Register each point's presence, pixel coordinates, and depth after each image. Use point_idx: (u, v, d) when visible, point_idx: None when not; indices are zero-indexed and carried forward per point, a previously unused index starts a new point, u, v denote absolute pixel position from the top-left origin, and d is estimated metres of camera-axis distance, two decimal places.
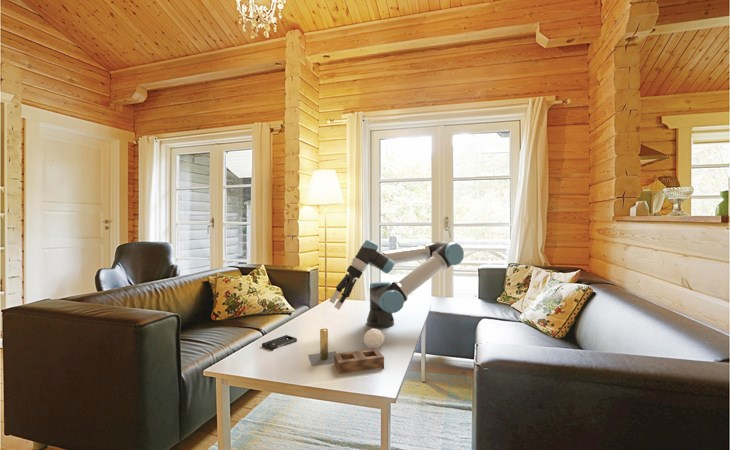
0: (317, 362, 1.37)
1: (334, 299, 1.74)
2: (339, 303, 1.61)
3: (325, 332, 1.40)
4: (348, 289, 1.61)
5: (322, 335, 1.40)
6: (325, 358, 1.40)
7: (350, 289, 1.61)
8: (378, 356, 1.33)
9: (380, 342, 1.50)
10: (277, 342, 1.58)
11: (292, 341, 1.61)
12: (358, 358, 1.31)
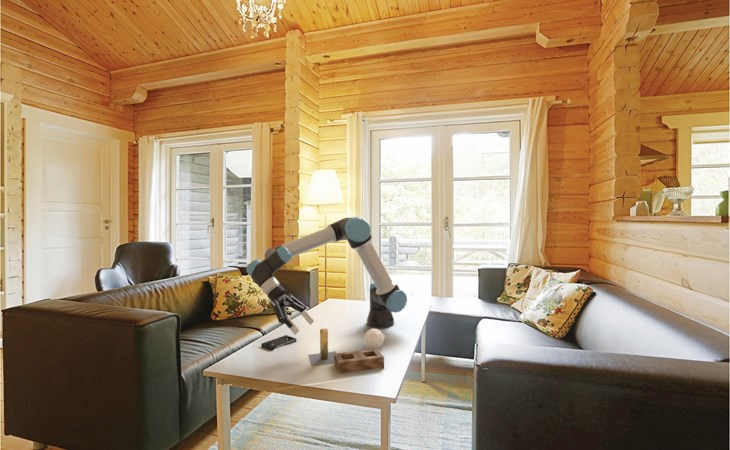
0: (317, 362, 1.37)
1: (309, 318, 1.49)
2: (292, 328, 1.37)
3: (325, 332, 1.40)
4: (277, 315, 1.37)
5: (322, 335, 1.40)
6: (325, 358, 1.40)
7: (278, 312, 1.37)
8: (378, 356, 1.33)
9: (380, 342, 1.50)
10: (276, 342, 1.58)
11: (292, 341, 1.60)
12: (358, 358, 1.31)
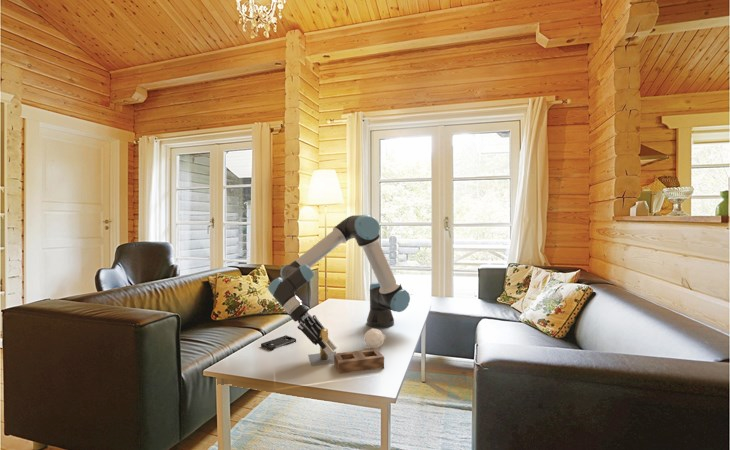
0: (317, 362, 1.37)
1: (331, 345, 1.42)
2: (326, 349, 1.38)
3: (325, 332, 1.40)
4: (309, 337, 1.37)
5: (322, 335, 1.40)
6: (325, 358, 1.40)
7: (310, 335, 1.37)
8: (378, 356, 1.33)
9: (380, 342, 1.50)
10: (276, 342, 1.57)
11: (291, 342, 1.60)
12: (358, 358, 1.31)
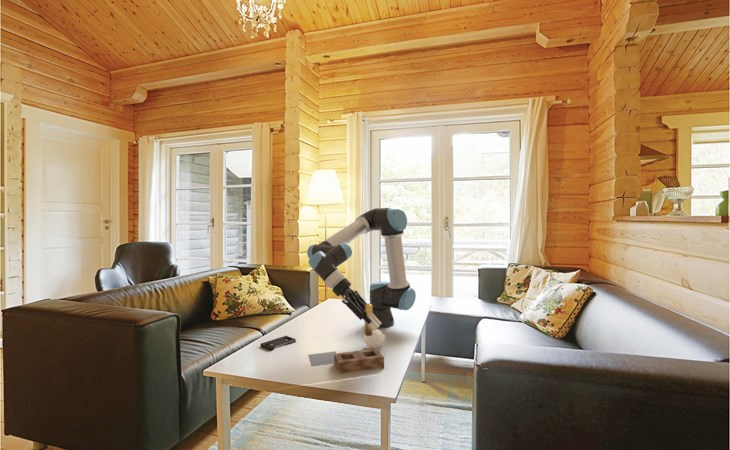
0: (317, 362, 1.37)
1: (376, 321, 1.36)
2: (371, 324, 1.32)
3: (370, 307, 1.34)
4: (355, 311, 1.31)
5: (367, 310, 1.33)
6: (370, 334, 1.34)
7: (355, 309, 1.31)
8: (378, 356, 1.33)
9: (380, 342, 1.50)
10: (275, 342, 1.57)
11: (291, 342, 1.60)
12: (358, 358, 1.31)
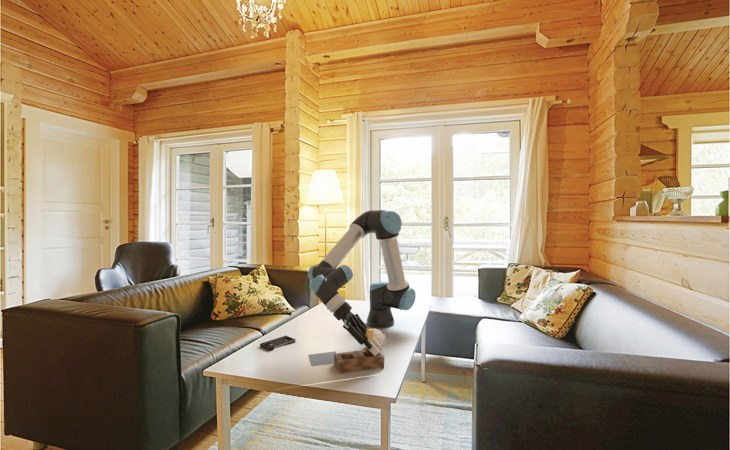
0: (317, 362, 1.37)
1: (377, 345, 1.36)
2: (372, 349, 1.32)
3: (371, 331, 1.34)
4: (355, 337, 1.31)
5: (368, 335, 1.34)
6: None
7: (356, 334, 1.31)
8: (378, 356, 1.33)
9: (380, 342, 1.50)
10: (275, 342, 1.57)
11: (290, 342, 1.59)
12: (358, 358, 1.31)
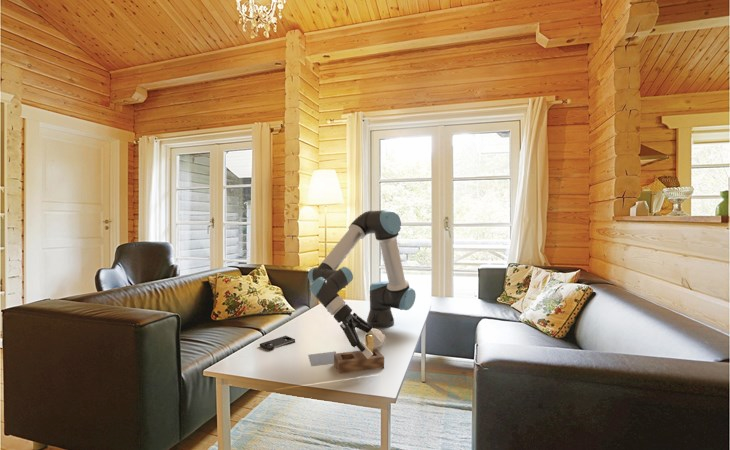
0: (317, 362, 1.37)
1: (376, 339, 1.41)
2: (365, 351, 1.28)
3: (371, 338, 1.34)
4: (349, 338, 1.28)
5: (368, 341, 1.33)
6: None
7: (350, 335, 1.28)
8: (378, 356, 1.33)
9: None
10: (274, 342, 1.57)
11: (290, 342, 1.59)
12: (358, 358, 1.31)
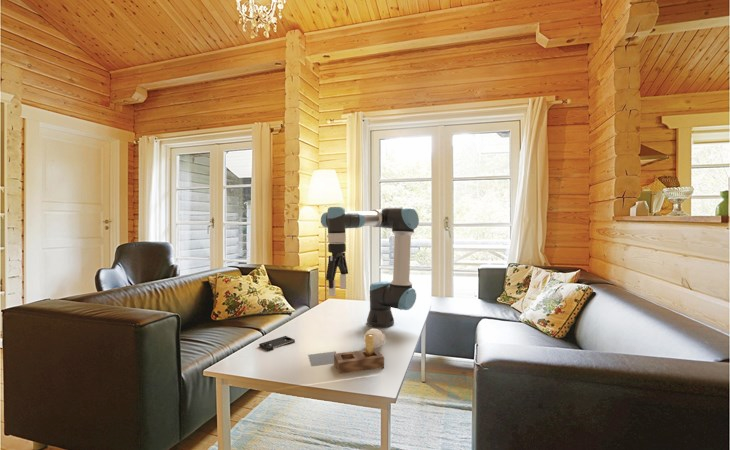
0: (317, 362, 1.37)
1: (343, 284, 1.52)
2: (331, 289, 1.39)
3: (371, 338, 1.34)
4: (328, 271, 1.37)
5: (368, 341, 1.34)
6: None
7: (330, 270, 1.37)
8: (378, 356, 1.33)
9: (380, 342, 1.50)
10: (274, 343, 1.57)
11: (290, 342, 1.59)
12: (358, 358, 1.31)
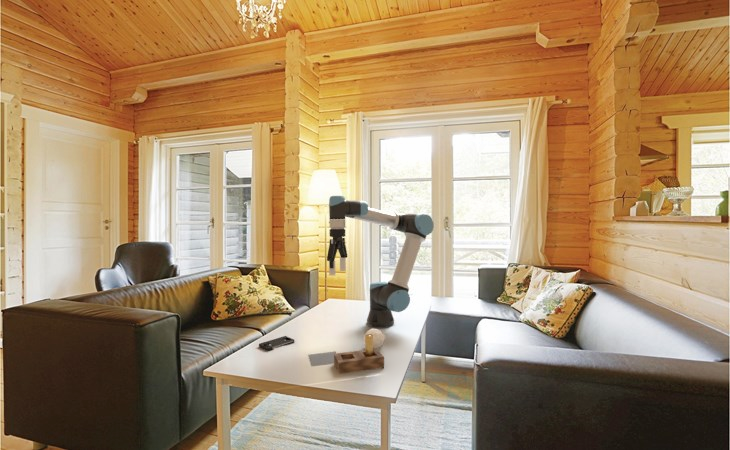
0: (317, 362, 1.37)
1: (343, 266, 1.68)
2: (331, 269, 1.55)
3: (371, 338, 1.34)
4: (329, 252, 1.53)
5: (367, 341, 1.33)
6: None
7: (331, 251, 1.53)
8: (378, 356, 1.33)
9: (380, 342, 1.50)
10: (273, 343, 1.57)
11: (289, 342, 1.59)
12: (358, 358, 1.31)
